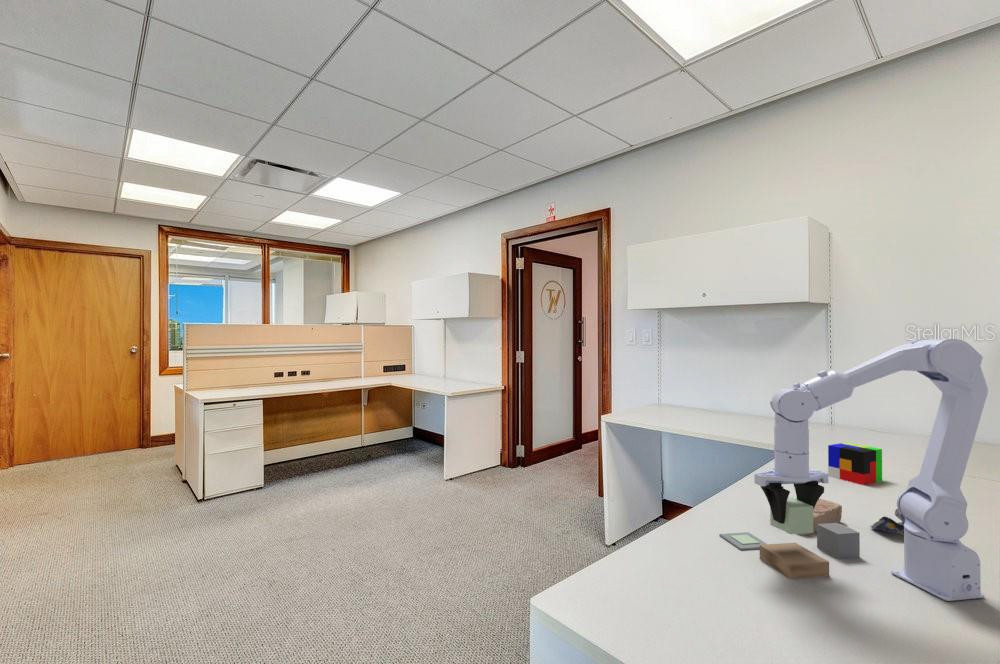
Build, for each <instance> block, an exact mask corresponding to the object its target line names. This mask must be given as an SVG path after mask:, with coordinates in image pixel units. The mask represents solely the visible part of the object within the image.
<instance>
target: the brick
mask: <svg viewBox="0 0 1000 664" xmlns="http://www.w3.org/2000/svg"><path fill="white" fill-rule="evenodd" d="M842 514H843V505H841V504H839V503H837V502H834V501H832V500H825V499H822V498H819V499H818V501H817V503H816V505H815V507H814V510H813V533H815V532H816V533H817V524H825V523H840V522H841V521H842V516H843V515H842ZM813 533H802V534H799V535H800V536H807V535H808V536H809V535H811V534H813Z"/></svg>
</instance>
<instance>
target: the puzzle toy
mask: <svg viewBox="0 0 1000 664" xmlns="http://www.w3.org/2000/svg"><path fill="white" fill-rule="evenodd" d="M827 448H828V449H827V450H828V451H827V452H828V453H827V459H828V464H827V465H828V466H827V467H828V468H827V469H828V471H827V472H828V477H831V478H834V479H838V480H843V481H846V482H849V483H850V482H851V483H854V484H857V485H861V486H866V485H871V484H875V483H880V482H883V449H882V448H878V447H874V446H873V447H872V446H868V445H863V444H857V443H852V442H841V443H834V444H829V445H827Z"/></svg>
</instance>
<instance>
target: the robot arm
mask: <svg viewBox="0 0 1000 664" xmlns="http://www.w3.org/2000/svg"><path fill="white" fill-rule="evenodd" d="M982 362H983V355H982V354H980V353H979V351H977V350H976V349H975V347H973V346H972V345H971V344H969V343H968V342H967V341H964V340H962V339H960V338H959V339H958V338H946V339H930V338H918V339H914V340H913V341H910V342H909V343H904V344H901V345H898V346H896V347H894V348H891V349H889V350H888V351H885V352H883V353H882V354H879V355H877V356H875V357H873V358H870V359H868V360H867V361H865V362H863V363H860V364H858V365H856V366H854V367H851V368H850V369H848V370H845V371H843V372H840V371H838V370H837V371H836V370H833V369H832V370H828V371H827V370H824V369H823V370H819V371H818V372H816V374H817V376H815V377H813V378H810V379H807V380H805V381H803V382H801V383H800V382H798V381H797V382H795V383H792V387H793V389H792V388H782V389H779V390H778V391H776V392H775V393H774V394H773V396H772V398H771V400H770V401H769V404H770V408H771V410H772V411H773V413H774V427H773V428H774V430H773V431H774V436H773V437H774V441H773V443H774V444H773V445H774V446H773V447H774V449H773V450H774V454H773V456H774V467H772V470H768V471H763V472H758V473H757V472H756V473H754V484H755V485H758V486H760V488H761V490H762V492H763V493H764V495H765V497H766V499H767V502H768V504H769V508H771V511H772V515H773V519H774V520H775V521H777V522H779V523H781V524H783V523H784V522H785V513H786V503H787V499H788V498H789V496H790V494H791V491H790V490H788V489H786V488H784V485H793V487H794V490H795V495H796V499H797V500H800V501H802V502H804V503H807V504H809V505H811V506H813V510H814V507H815V505H816V503H817V501H818V499H821V497H822V495H823V494H824V493H825V487H824V486H823V485H822V484H829V476H828V473H827V472H824V471H821V470H810V431H809V430H810V429H809V419H810V418H811V417H812V416H813V414H814V412H818V411H819V410H823V409H825V408H827V407H830V406H832V405H834V404H837V403H840V402H842V401H844V400H847V399H849V398H851V397H852V396H853V392H854V390H855V389H856V388H857V387H860V386H863V385H865V384H868V383H871V382H874V381H877V380H879V379H882V378H885V377H887V376H890V375H893V374H895V373H899V372H901V371H902V372H903V371H908V372H910V371H912V372H917V373H919V374H920V375H922V376H924V377H926V378H928V379H929V380H930V381H931V382H932V383H933V384H934V386H936V388H937V389H938V390H939V391H940V392H941V393H942V395H941V399H940V402H939V405H938V409H937V411H936V416H935V420H934V423H933V426H932V429H931V434H930V436H929V440H928V443H927V446H926V450H925V454H924V457H923V460H922V463H921V467H920V471H919V474H917V475H916V476H914V477H912V478H911V479H909V480H908V484H907V487H906V488H905V489H904V490H903V491H902V492H901V493H900V494H899V495H898V497H897V499H896V507H897V508H896V509H898V510H899V512H900V513H901V514H902V515H903V516H904V517H905V523H904V535H903V539H904V540H903V547H904V548H903V554H904V555H903V558H904V559H903V560H904V561H903V565H904V566H903V568H902V569H893V570H891V571H890V572H891V574H892V575H894V576H896V577H898V578H900V579H902V580H904V581H906V582H908V583H910V584H912V585H915V587H918V588H920V589H922V590H924V591H926V592H928V593H930V594H932V595H934V596H936V597H938V598H939V599H942V600H943V601H946V602H951V601H952V602H953V601H961V600H962V601H963V600H972V599H973V600H974V599H980V598H985V594H984V593H982V592H981V586H982V585H981V583H982V581H981V560H980V557H979V555H978V553H977V552H976V551H975V550H973V549H972V548H970V547H968V546H966V545H965V544H964V543H963V542H962V541H961V540H960V539H962V538H963V537H964V536H965V535H967V532H968V530H969V521H968V520H969V519H968V518H967V508H968V506H969V505H968V501H967V499H966V497H965V495H964V493H963V492H962V489H961V485H962V481H963V478H964V475H965V471H966V468H967V465H968V461H969V458H970V455H971V451H972V448H973V445H974V441H975V438H976V433H977V430H978V427H979V424H980V422H981V418H982V413H983V411H984V409H985V404H986V400H987V397H988V393H989V389H988V385H987V382H986V379H985V376H984V372H983V370H982V366H981V365H982ZM819 483H822V484H821V485H820V484H819Z"/></svg>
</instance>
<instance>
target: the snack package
mask: <svg viewBox="0 0 1000 664" xmlns="http://www.w3.org/2000/svg"><path fill="white" fill-rule="evenodd" d="M894 515H895V517H896V518H898V520H900V521H901V522H896V521H895V520H894V519H892V518H891V517H888V516H882V517H881V518H879V520H878V521H876V522H875V523H872V525H870V528H871V529H872V531H875V530H877V531H884V532H887V533H891V534H892V533H893V534H895V535H900V536H904V523H905V517H904V516H903V515H902V514H901V513H900V512H899V510H898V508H896V509H895V510H894Z"/></svg>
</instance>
